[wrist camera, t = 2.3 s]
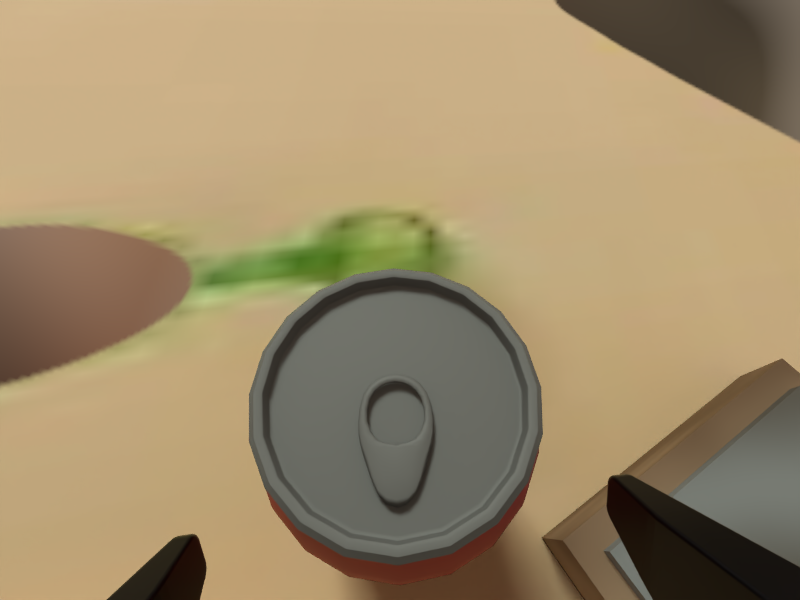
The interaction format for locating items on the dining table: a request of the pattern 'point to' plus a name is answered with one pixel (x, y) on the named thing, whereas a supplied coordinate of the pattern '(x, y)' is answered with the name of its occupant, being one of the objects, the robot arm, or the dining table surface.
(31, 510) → the dining table surface
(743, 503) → the walnut stand
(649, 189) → the dining table surface
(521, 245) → the dining table surface
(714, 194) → the dining table surface
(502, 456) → the beer can
